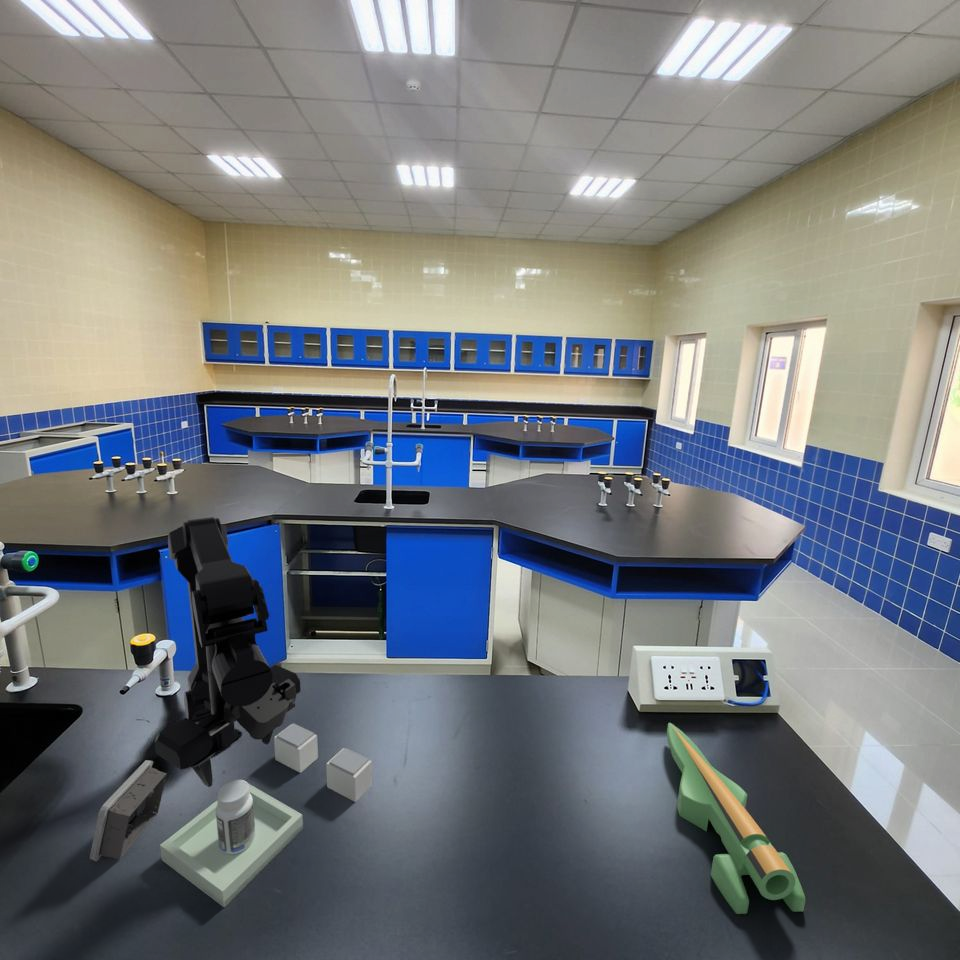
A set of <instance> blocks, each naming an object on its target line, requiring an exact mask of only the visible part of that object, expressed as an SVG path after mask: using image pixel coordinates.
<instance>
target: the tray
mask: <svg viewBox="0 0 960 960" xmlns="http://www.w3.org/2000/svg"><path fill="white" fill-rule="evenodd" d="M248 785H249V791H250V794H251V795H252V798H253V809H254V821H255V838H254V840H253V842H252V843H251V845H250V846H249V847H248V848H247V849H245V850H244V851H242V852H240V853H237V854H225V853H223V852H222V851H221V850H220V848H219V841H218V830H217V821H216V807H217V804H218V800H217V799H216V801H214V802H213V803H212V804H211V805H209V806H208V807H206V808H205V809H204V810H203V811H202V812H200V813H199V814H197V815H196V816H195V817H194V818H193V819H191V820H190V821H189V822H187V824H185V825H183V826H182V827H181V828H180V829H178V830H177V831H176V832H175V833H174V834H172V835H171V836H170V837H168V838H167V839H166V840H165V841H163V842H162V843H161V844H160V845H159V847H160V848H159V849H160V857H161V861H162V862H164V863H165V864H167V866H169V867H170V868H171V869H173V870H174V871H175V872H177V873H178V874H179V875H180V876H182V877H183V878H184V879H186V880H187V881H188V882H190V883H191V884H193V885H194V886H195V887H197V888H198V889H199V890H201V892H203V893H204V894H205V895H207V896H209V898H211V899H212V900H214V902H216V903H217V904H219V905H220V906H221V907H223V908H226V907H227V906H228V904H230V902H232V900H234V898H236V897H237V896H238V895H239V894H240V893H241V891H242V890H243V889H245V887H247V886H248V885H249V883H250V882H252V881H253V879H255V878H256V876H257V875H259V873H261V872H262V870H263V869H265V868H266V866H268V864H270V863H271V861H273V859H275V857H277V856H278V855H279V854H280V853H281V852H282V851H283V849H285V848H286V846H287V845H288V844H289V843H291V841H292V840H294V839H295V837H297V836H298V835H299V834H300V833H301V832H302V831H303V830H304V820H303V814H302V813H300V812H298V811H297V810H295V809H293V808H292V807H290V806H288V805H287V804H285V803H283V802H281V801H280V800H277V799H276V798H274V797H272V796H271V795H269V794H267V793H266V792H264V791H262V790H261V789H259V788H257V787H255V786H254V785H252V784H251V783H248Z"/></svg>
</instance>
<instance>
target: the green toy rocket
mask: <svg viewBox="0 0 960 960" xmlns="http://www.w3.org/2000/svg"><path fill="white" fill-rule="evenodd" d="M666 738H667V739H666V740H667V745H668V749H669V750H670V751H671V756H672V759H673V761H674V762H675V764H676V765H677V767H678V769H679V770H680V772H681V774H682V775H681V779H680V782H679V783H680V784H679V790H678V797H677V805H676V806H677V807H676V809H677V813H678V816H679V817H681V818H683V819H684V820H686V821H687V822H689V823H690V824H691V823H692V824H693V825H694V826H696V827H698V828H700V829H702V830H703V831H705V832H707V831H708V824H709V822H710V823H711V826H712V827H713V829H714V830H715V832H716V833H717V835H719V836H720V838H721V843H722V844H723V846H724V847H725V849H726V851H727V853H720V854H719V853H718V854H715V855H714V856H713V858H712V859H713V860H712V863H711V869H710V870H711V871H710V876H711V878H712V880H713V882H714V884H715V886H716V887H717V888H718V891H720V893H721V894H722V896H723V899H725V900H726V902H727V903H728V905H729V906H730V907H731V909H732V910H733V912H734V913H735V914H737V915H747V914H748V910H749V905H750V898H749V896H748V894H747V893H748V892H747V890H746V887H745V885H744V882H743V881H744V880H743V879H742V876H746V875H747V876H748V875H749V877H750V878H751V880H752V881H753V883H754V885H755V886H756V888H757V889H758V891H759V894H760V895H761V896H762V897H763V898H765V899H766V900H767V899H768V900H771V901H776V900H781V899H782V900H783V901H784V903H785V904H786V905H787V907H788V908H789V909H790V910H791V911H792V912H796V913H799V912H804V910H805V909H804V908H805V905H806V896H805V893H804V890H803V887H802V885H801V882H800V880H799V878H798V875H797V872H796V870H795V868H794V866H793V864H792V862H791V861H790V859H789V856H787V854H786V853H784V852H783V851H780V852H779V851H777V849H776V848H775V847H774V846H773V845H772V843H771V842H770V840H769V838H768V837H767V835H766V834H765V833H764V831H763V830H762V829H761V827H760V826H759V825H758V824H757V822H756V821H755V820H754V818H753V817H752V816H751V815H750V813H749V812H748V811H747V809H746V805H747V798H748V793H747V792H746V791H745V790H744V789H743V788H742V787H741V786H740V785H739V784H737V783H736V782H734V781H733V780H732V779H730V778H728V777H727V776H726V775H724V774H723V773H721V772H720V771H719V770H717V769H716V768H715V767H714V766H712V765H711V763H710V762H709V760H708V759H707V758H706V756H705V755H704V754H703V752H702V751H701V750H700V749H699V747H698V746H697V744H695V743H694V741H692V739H691V738H690V737H689V736H687V734H685V733H684V732H683V731H682V730H681V729H680V728H678V727H677V726H675V724H674V723H671V722H668V724H667V729H666Z"/></svg>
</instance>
